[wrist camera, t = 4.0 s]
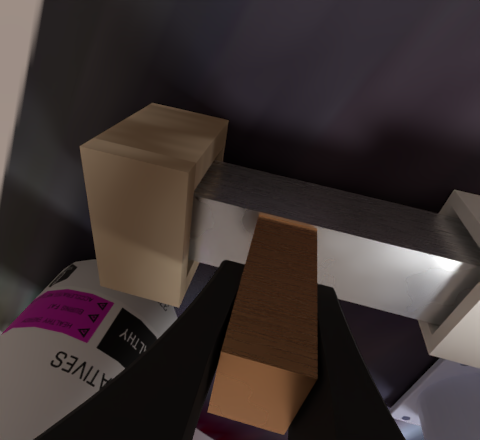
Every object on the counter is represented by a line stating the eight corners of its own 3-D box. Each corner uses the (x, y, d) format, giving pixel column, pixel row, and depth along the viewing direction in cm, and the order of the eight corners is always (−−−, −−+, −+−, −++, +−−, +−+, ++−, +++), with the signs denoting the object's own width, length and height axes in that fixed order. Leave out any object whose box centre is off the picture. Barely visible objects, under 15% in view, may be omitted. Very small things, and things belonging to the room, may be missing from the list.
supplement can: (55, 299, 23) (-240, 633, 11) (83, 228, 18) (-384, 677, 6) (153, 351, 24) (-11, 701, 12) (202, 298, 20) (15, 779, 7)
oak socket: (228, 120, 13) (188, 172, 9) (212, 233, 16) (178, 307, 12) (152, 102, 13) (79, 146, 9) (153, 217, 17) (100, 286, 13)
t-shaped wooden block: (532, 235, 12) (786, 508, 6) (485, 287, 14) (637, 542, 7) (166, 148, 13) (17, 291, 7) (165, 206, 15) (45, 365, 8)
